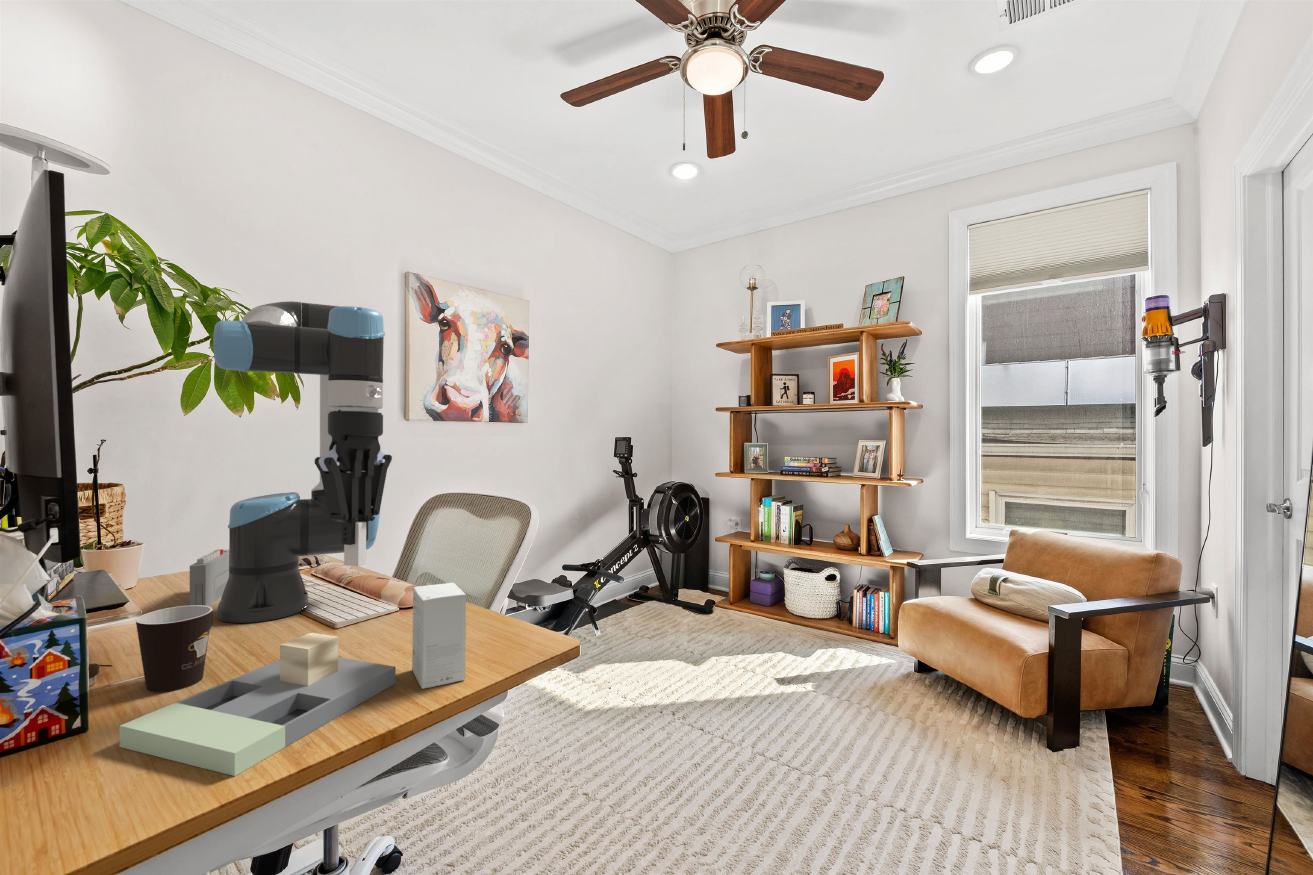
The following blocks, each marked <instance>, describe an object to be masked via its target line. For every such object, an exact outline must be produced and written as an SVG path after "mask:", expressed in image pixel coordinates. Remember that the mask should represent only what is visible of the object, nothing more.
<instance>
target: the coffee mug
mask: <svg viewBox="0 0 1313 875" xmlns="http://www.w3.org/2000/svg"><path fill="white" fill-rule="evenodd" d="M213 622H214V614H213V607H212V606H211V605H210V606H204V605H190V604H189V605H179V606H173V607H168V608H161V609H158V610H153V611H150V612H147V613H144V614H141V615H140V616H138V617H136V619H135V625H136V632H137V638H138V639H137V640H138V644H139V651H140V656H141V662H142V663H141V664H142V671H143V677H144V683H145V689H146V690H145V691H147V692H150V693H157V694H158V693H159V694H160V693H168V692H174V691H179V690H181V689H185V688H189V687H192V686H194V685H196V684H198V683H200V681H202V680H203V679H204V672H205V666H206V659H207V658H206V657H207V651H208V646H209V637H210V630H211V628H212V626H213Z"/></svg>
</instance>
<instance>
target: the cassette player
mask: <svg viewBox="0 0 1313 875" xmlns="http://www.w3.org/2000/svg"><path fill="white" fill-rule="evenodd" d="M228 578H229V549H223V548H222V549H215V550H213V551H212V552H209V553H208V554H205V555H203V556H201V557H199V558H197V559H196V562H195V563H192V564H190V565H189V605H204V606H210V607H211V606H212V605H214V604H215V603H216V602H218V601H220V600H221V598H222V595H223V592H224V589H225V586H226V584H227V581H228Z"/></svg>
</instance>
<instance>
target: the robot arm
mask: <svg viewBox="0 0 1313 875" xmlns="http://www.w3.org/2000/svg"><path fill="white" fill-rule="evenodd" d="M385 333H386V332H385V330H384V318H383V315H382V314H381V312H379V311H377V310H375V309H372V308H367V307H362V306H361V307H360V306H351V305H347V306H346V305H343V306H339V305H329V304H328V305H327V304H322V303H321V304H319V303H311V302H302V301H277V302H272V303H266V304H265V303H264V304H261V305H258V306H255V307H253V308H251V309H250V310H248V311H247V312H246V313H245V315H244V316H243V317H242V320H238V319H237V320H219V321H217V322H216V323H215V325H214V329H213V340H212V341H213V343H212V345H213V357H214V358H213V359H214V362H215V365H216V366H217V367H218V368H220V369H222V370H229V371H230V370H231V371H237V372H241V373H246V372H263V373H283V374H301V375H316V376H319V456H317V457H315V458H314V465H315V466H316V468H317V470H318V471H319V481H318V483H317V484H316V485H315V486H314V487H313V488H312V489H311V494H310V495H311V497H310V498H307V499H305V498H304V499H303V498H302V499H301V496H300V494H299V493H298V492H295V491H294V492H279V493H273V494H271V493H270V494H265V495H259V496H254V497H249V498H244V499H242V500H239V501H237V502H235V503H234V504H232V506H231V507H230V510H229V520H228V521H229V522H228V525H227V528H228V530H229V544H228V546H229V548H228V550H229V578H228V581H227V584H226V586H225V589H224V592H223V595H222V598H220V600H219V601H220V602H219V603H218V605H217V619H218V620H219V621H222V622H226V623H235V624H237V623H239V624H242V623H243V624H245V623H247V624H248V623H257V622H267V621H271V620H272V621H273V620H278V619H282V618H286V617H289V616H293V615H296V614H299V613H300V612H302V611H301V610H302V608H304V607H305V606H307V605H308V606H309V593H308V591H307V590H306V586H305V583H304V580H303V577H302V575H301V572H300V567H299V564H300V562H299V560H300V558H299V557H304V556H307V557H308V556H319V555H330V554H332V555H333V554H340V553H341V554H343V565H344V566H352V567H361V566H364V565H366V564H367V550H369V549H370V548H372V547H373V546H374V544H375V541H376V538H377V535H378V528H379V522H380V516H381V505H382V500H383V496H384V495H383V494H384V491H385V490H384V489H385V484H386V479H387V478H386V477H387V473H388V468H389V466H390V464H391V462H392V460H393V457H392V455H391V454H385V453H384V452H383V451H381V444H380V442H379V437H381V436H382V435H383V434H384V414H382V412H379V410H381V409H383V407H384V402H383V401H384V400H383V399H384V391H383V390H384V378H383V377H384V376H383V375H384V374H383V372H384V340H385V339H384V337H385V335H386V334H385Z"/></svg>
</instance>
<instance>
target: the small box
mask: <svg viewBox="0 0 1313 875" xmlns="http://www.w3.org/2000/svg"><path fill="white" fill-rule="evenodd" d="M412 591H413V592H412V596H413V597H412V653H411V655H412V656H411V670H412V672H413V674H414V676H415V678H416V681H417V682H418V685H419V686H420V688H421V689H422V690H424V689H428V688H429V689H430V688H433V687H438V686H442V685H443V686H444V685H448V684H452V683H456V682H462V681H465V680H466V664H467V663H466V662H467V661H466V650H467V648H466V647H467V646H466V643H467V642H466V640H467V638H466V636H467V635H466V634H467V632H466V631H467V630H466V629H467V626H466V624H467V594H466V593H465V592H464V591H463V590H462V589H461V587H459V586H458V585H457V584H456V583H455V582H447V583H438V584H437V583H436V584H429V585H420V586H413V589H412Z"/></svg>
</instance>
